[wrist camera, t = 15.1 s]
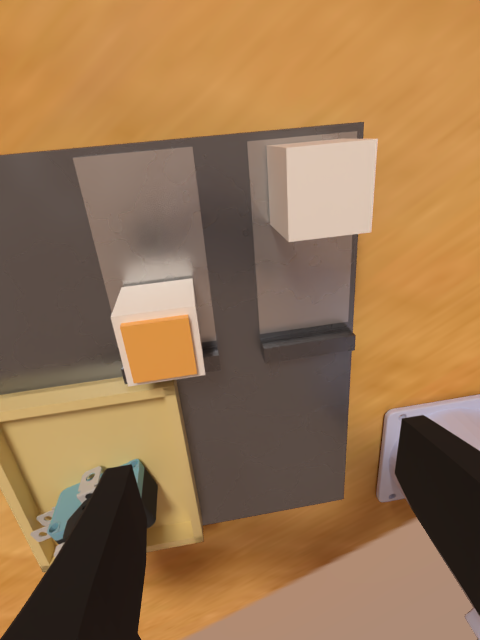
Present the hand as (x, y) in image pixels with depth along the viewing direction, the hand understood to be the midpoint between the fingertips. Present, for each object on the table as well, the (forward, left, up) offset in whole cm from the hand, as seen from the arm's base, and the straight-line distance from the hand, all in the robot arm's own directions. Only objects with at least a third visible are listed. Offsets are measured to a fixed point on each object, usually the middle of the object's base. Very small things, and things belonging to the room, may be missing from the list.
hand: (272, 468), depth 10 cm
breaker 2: (-3, -6, -8) cm, 11 cm away
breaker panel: (+3, +3, -10) cm, 11 cm away
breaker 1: (+3, -1, -8) cm, 9 cm away
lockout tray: (+8, +8, -9) cm, 14 cm away
